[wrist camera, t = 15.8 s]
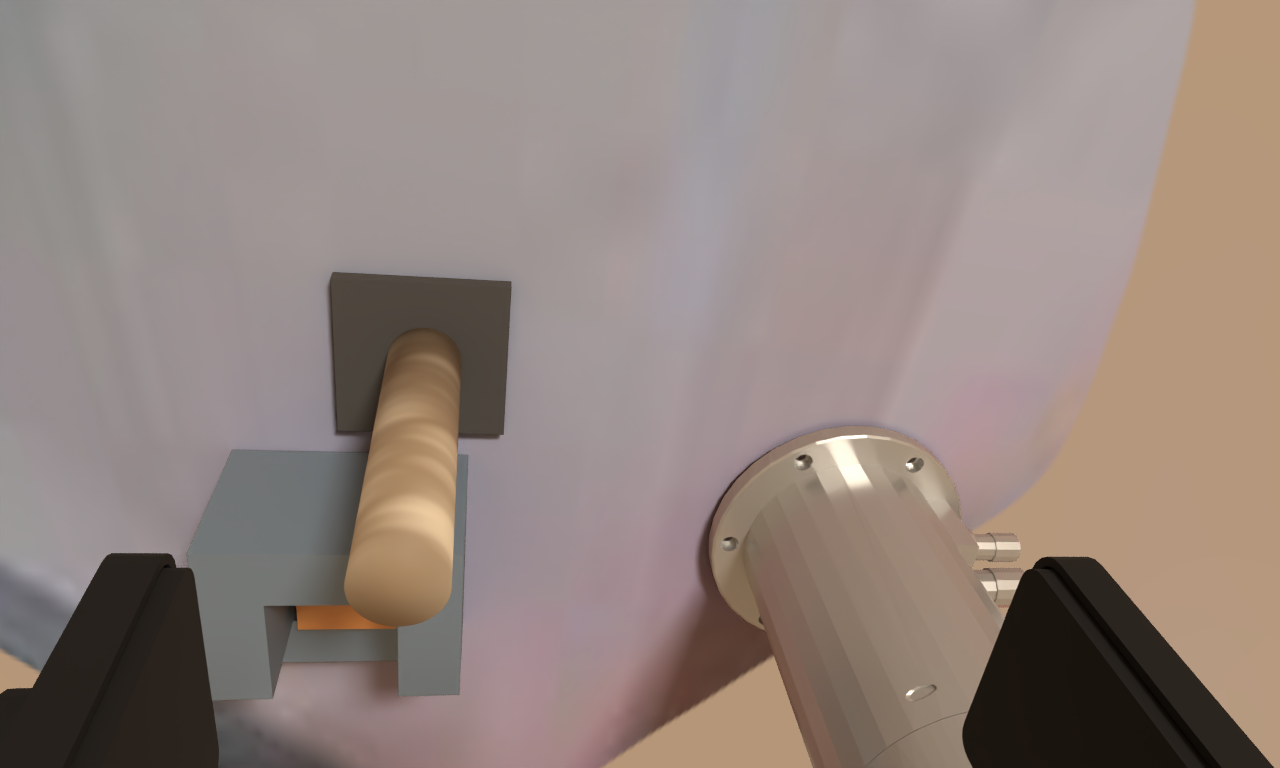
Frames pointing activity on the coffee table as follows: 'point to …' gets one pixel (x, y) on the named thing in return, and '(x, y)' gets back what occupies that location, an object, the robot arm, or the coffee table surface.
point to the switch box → (304, 576)
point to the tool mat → (397, 304)
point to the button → (333, 618)
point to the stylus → (409, 486)
